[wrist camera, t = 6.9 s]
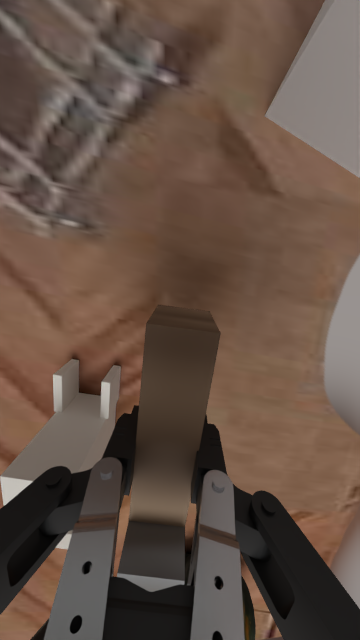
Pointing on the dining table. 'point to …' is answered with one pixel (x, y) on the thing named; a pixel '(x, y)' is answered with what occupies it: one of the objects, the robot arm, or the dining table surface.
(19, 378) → the dining table surface
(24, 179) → the dining table surface
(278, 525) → the robot arm
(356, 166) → the milk
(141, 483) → the rail
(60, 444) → the white forked bracket
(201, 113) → the dining table surface
